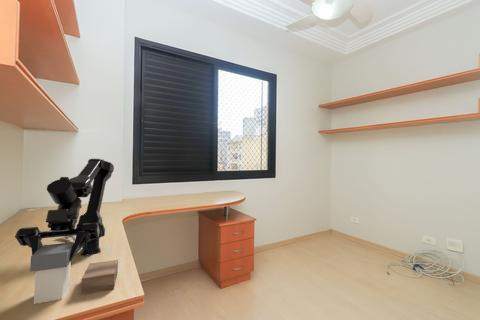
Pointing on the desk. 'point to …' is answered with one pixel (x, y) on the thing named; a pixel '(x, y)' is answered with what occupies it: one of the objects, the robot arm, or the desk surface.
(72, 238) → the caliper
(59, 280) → the white open box
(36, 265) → the gray block
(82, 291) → the walnut block
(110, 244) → the desk surface
